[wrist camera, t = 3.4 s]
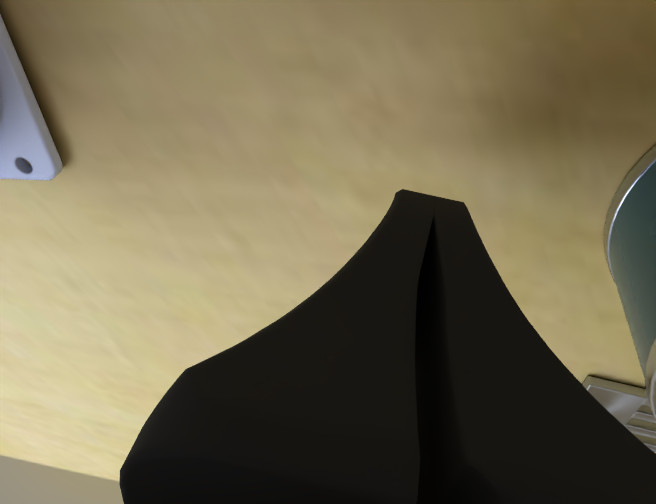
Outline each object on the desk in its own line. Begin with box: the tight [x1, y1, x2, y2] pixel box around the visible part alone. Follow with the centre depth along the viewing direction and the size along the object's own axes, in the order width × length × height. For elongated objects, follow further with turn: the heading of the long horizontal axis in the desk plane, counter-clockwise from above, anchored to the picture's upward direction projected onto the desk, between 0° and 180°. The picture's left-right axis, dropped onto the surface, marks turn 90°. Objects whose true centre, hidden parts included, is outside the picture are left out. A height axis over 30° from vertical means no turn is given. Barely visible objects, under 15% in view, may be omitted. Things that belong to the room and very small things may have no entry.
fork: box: [582, 376, 656, 452], centre depth 19 cm, size 15×2×1 cm, turn 83°
